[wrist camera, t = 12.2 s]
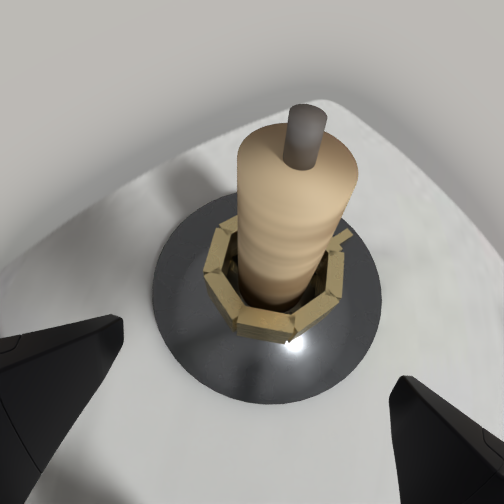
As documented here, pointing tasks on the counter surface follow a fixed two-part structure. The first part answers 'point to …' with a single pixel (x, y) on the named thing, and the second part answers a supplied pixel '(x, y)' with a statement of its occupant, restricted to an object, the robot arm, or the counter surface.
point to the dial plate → (251, 356)
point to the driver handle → (288, 205)
